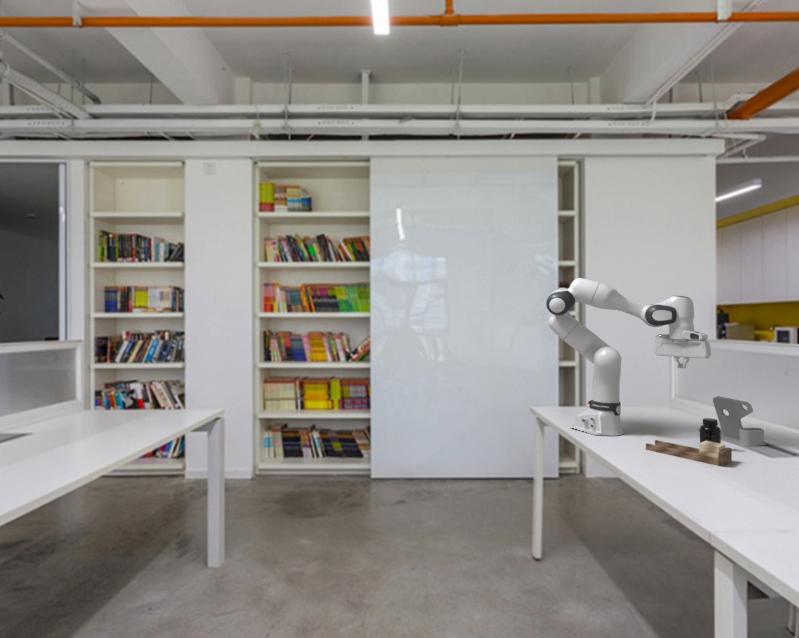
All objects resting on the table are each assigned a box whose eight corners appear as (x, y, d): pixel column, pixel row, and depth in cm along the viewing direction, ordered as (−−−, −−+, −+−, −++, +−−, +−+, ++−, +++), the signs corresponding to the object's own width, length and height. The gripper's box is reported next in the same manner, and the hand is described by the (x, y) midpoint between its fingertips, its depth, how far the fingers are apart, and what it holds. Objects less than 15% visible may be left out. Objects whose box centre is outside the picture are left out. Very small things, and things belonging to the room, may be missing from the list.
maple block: (699, 460, 160) (699, 443, 160) (705, 457, 163) (705, 440, 163) (719, 464, 155) (719, 447, 155) (725, 461, 158) (725, 444, 158)
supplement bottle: (699, 446, 182) (699, 416, 181) (719, 448, 178) (719, 418, 178) (700, 450, 176) (700, 420, 176) (721, 453, 172) (721, 422, 172)
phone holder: (767, 445, 183) (767, 401, 183) (747, 447, 180) (747, 402, 180) (728, 434, 200) (728, 394, 200) (709, 436, 197) (709, 395, 197)
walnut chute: (645, 452, 173) (645, 437, 173) (656, 448, 178) (656, 433, 178) (722, 470, 153) (722, 452, 153) (731, 465, 158) (731, 448, 158)
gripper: (651, 334, 193) (651, 366, 193) (706, 335, 177) (706, 370, 177) (658, 333, 197) (658, 365, 197) (712, 335, 181) (712, 369, 181)
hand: (681, 368), depth 187 cm, fingers closed
